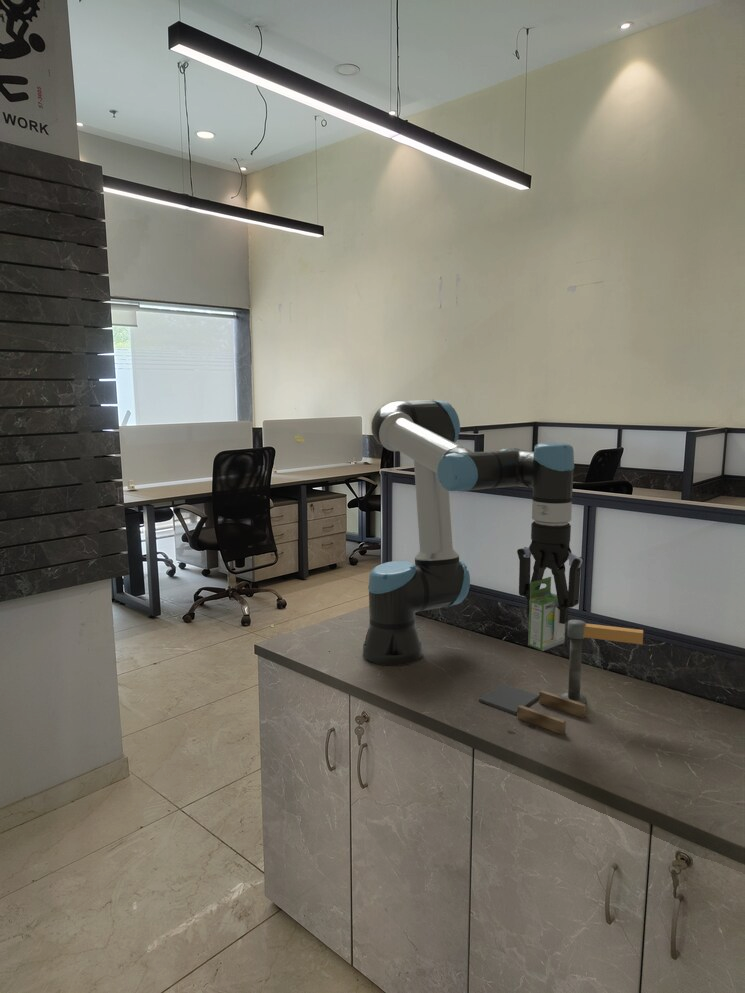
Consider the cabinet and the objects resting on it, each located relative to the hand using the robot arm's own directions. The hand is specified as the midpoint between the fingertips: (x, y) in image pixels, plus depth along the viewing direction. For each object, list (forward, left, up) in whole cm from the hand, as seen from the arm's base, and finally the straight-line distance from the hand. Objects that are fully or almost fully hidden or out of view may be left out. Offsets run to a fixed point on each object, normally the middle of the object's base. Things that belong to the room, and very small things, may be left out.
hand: (546, 634), depth 130 cm
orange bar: (+7, +12, -3) cm, 14 cm away
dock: (+2, +3, -17) cm, 18 cm away
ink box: (0, 0, -2) cm, 2 cm away
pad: (-9, +1, -17) cm, 19 cm away
